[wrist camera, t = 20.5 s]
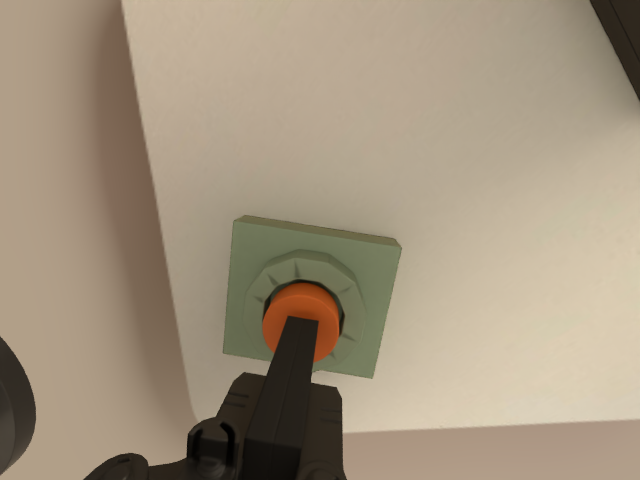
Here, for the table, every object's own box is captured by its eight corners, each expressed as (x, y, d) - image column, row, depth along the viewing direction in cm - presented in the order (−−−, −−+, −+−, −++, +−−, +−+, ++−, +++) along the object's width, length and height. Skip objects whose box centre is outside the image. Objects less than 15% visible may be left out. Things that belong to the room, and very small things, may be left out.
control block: (233, 335, 22) (210, 372, 18) (244, 214, 19) (221, 226, 16) (369, 358, 21) (376, 400, 17) (395, 238, 19) (409, 256, 15)
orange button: (265, 339, 17) (258, 358, 16) (273, 276, 16) (266, 289, 15) (333, 351, 17) (332, 370, 16) (344, 288, 16) (345, 302, 15)
